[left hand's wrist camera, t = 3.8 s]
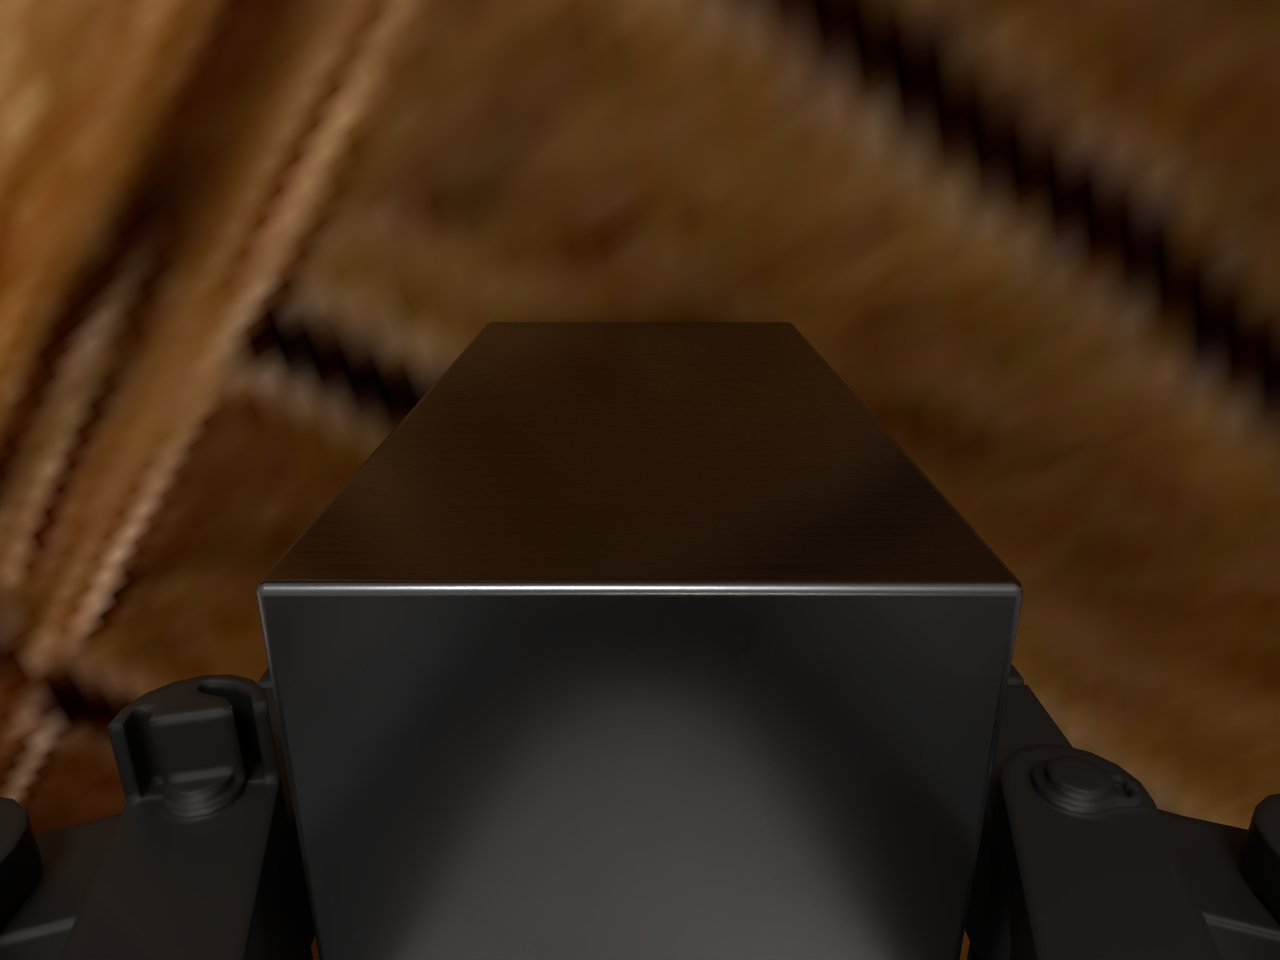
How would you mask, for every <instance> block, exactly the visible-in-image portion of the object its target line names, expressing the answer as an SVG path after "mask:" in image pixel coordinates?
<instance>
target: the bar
mask: <svg viewBox="0 0 1280 960" xmlns="http://www.w3.org/2000/svg"><path fill="white" fill-rule="evenodd" d="M256 597H257V603H258V609H259V614H260V620H261V626H262V631H263V637H264V643H265V649H266V654H267V660H268V666H269V672H270V677H271V683H272V689H273V694H274V700H275V706H276V712H277V717H278V723H279V729H280V734H281V740H282V746H283V752H284V757H285V763H286V769H287V775H288V780H289V786H290V792H291V797H292V803H293V809H294V815H295V820H296V826H297V832H298V838H299V843H300V849H301V855H302V860H303V866H304V872H305V878H306V883H307V889H308V895H309V900H310V906H311V912H312V918H313V923H314V929H315V935H316V941H317V946H318V952H319V958H320V960H959V959H960V953H961V947H962V941H963V936H964V930H965V924H966V918H967V913H968V907H969V901H970V896H971V890H972V884H973V878H974V873H975V867H976V861H977V855H978V850H979V844H980V838H981V832H982V827H983V821H984V815H985V809H986V804H987V798H988V792H989V786H990V781H991V775H992V769H993V764H994V758H995V752H996V746H997V741H998V735H999V729H1000V723H1001V718H1002V712H1003V706H1004V700H1005V695H1006V689H1007V683H1008V677H1009V672H1010V666H1011V660H1012V654H1013V649H1014V643H1015V637H1016V632H1017V626H1018V620H1019V614H1020V609H1021V603H1022V597H1023V590H1022V586H1021V583H1020V581H1019V580H1018V579H1017V578H1016V577H1015V576H1014V575H1013V574H1012V572H1011V571H1010V570H1009V569H1008V568H1007V567H1006V566H1005V564H1004V563H1003V562H1002V561H1001V560H1000V559H999V558H998V557H997V555H996V554H995V553H994V552H993V551H992V550H991V549H990V547H989V546H988V545H987V544H986V543H985V542H984V541H983V539H982V538H981V537H980V536H979V535H978V534H977V533H976V532H975V530H974V529H973V528H972V527H971V526H970V525H969V524H968V522H967V521H966V520H965V519H964V518H963V517H962V516H961V515H960V513H959V512H958V511H957V510H956V509H955V508H954V507H953V505H952V504H951V503H950V502H949V501H948V500H947V499H946V498H945V496H944V495H943V494H942V493H941V492H940V491H939V490H938V488H937V487H936V486H935V485H934V484H933V483H932V482H931V481H930V479H929V478H928V477H927V476H926V475H925V474H924V473H923V471H922V470H921V469H920V468H919V467H918V466H917V465H916V463H915V462H914V461H913V460H912V459H911V458H910V457H909V456H908V454H907V453H906V452H905V451H904V450H903V449H902V448H901V446H900V445H899V444H898V443H897V442H896V441H895V440H894V439H893V437H892V436H891V435H890V434H889V433H888V432H887V431H886V429H885V428H884V427H883V426H882V425H881V424H880V423H879V422H878V420H877V419H876V418H875V417H874V416H873V415H872V414H871V412H870V411H869V410H868V409H867V408H866V407H865V406H864V404H863V403H862V402H861V401H860V400H859V399H858V398H857V397H856V395H855V394H854V393H853V392H852V391H851V390H850V389H849V387H848V386H847V385H846V384H845V383H844V382H843V381H842V380H841V378H840V377H839V376H838V375H837V374H836V373H835V372H834V370H833V369H832V368H831V367H830V366H829V365H828V364H827V363H826V361H825V360H824V359H823V358H822V357H821V356H820V355H819V353H818V352H817V351H816V350H815V349H814V348H813V347H812V346H811V344H810V343H809V342H808V341H807V340H806V339H805V338H804V336H803V335H802V334H801V333H800V332H799V331H798V330H797V328H796V327H795V326H794V325H793V324H791V323H789V322H491V323H489V324H487V326H486V327H485V328H484V329H483V330H482V331H481V332H480V333H479V335H478V336H477V337H476V338H475V339H474V340H473V341H472V342H471V344H470V345H469V346H468V347H467V348H466V349H465V350H464V351H463V353H462V354H461V355H460V356H459V357H458V358H457V359H456V360H455V362H454V363H453V364H452V365H451V366H450V367H449V368H448V369H447V371H446V372H445V373H444V374H443V375H442V376H441V377H440V378H439V380H438V381H437V382H436V383H435V384H434V385H433V386H432V387H431V389H430V390H429V391H428V392H427V393H426V394H425V395H424V396H423V398H422V399H421V400H420V401H419V402H418V403H417V404H416V405H415V407H414V408H413V409H412V410H411V411H410V412H409V413H408V414H407V416H406V417H405V418H404V419H403V420H402V421H401V422H400V424H399V425H398V426H397V427H396V428H395V429H394V430H393V431H392V433H391V434H390V435H389V436H388V437H387V438H386V439H385V440H384V442H383V443H382V444H381V445H380V446H379V447H378V448H377V449H376V451H375V452H374V453H373V454H372V455H371V456H370V457H369V458H368V460H367V461H366V462H365V463H364V464H363V465H362V466H361V467H360V469H359V470H358V471H357V472H356V473H355V474H354V475H353V476H352V478H351V479H350V480H349V481H348V482H347V483H346V484H345V485H344V487H343V488H342V489H341V490H340V491H339V492H338V493H337V494H336V496H335V497H334V498H333V499H332V500H331V501H330V502H329V503H328V505H327V506H326V507H325V508H324V509H323V510H322V511H321V512H320V514H319V515H318V516H317V517H316V518H315V519H314V520H313V521H312V523H311V524H310V525H309V526H308V527H307V528H306V529H305V530H304V532H303V533H302V534H301V535H300V536H299V537H298V538H297V539H296V541H295V542H294V543H293V544H292V545H291V546H290V547H289V548H288V550H287V551H286V552H285V553H284V554H283V555H282V556H281V558H280V559H279V560H278V561H277V562H276V563H275V564H274V565H273V567H272V568H271V569H270V570H269V571H268V572H267V573H266V574H265V576H264V577H263V578H262V579H261V580H260V581H259V582H258V586H257V589H256Z"/></svg>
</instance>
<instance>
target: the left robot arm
mask: <svg viewBox="0 0 1280 960" xmlns="http://www.w3.org/2000/svg"><path fill="white" fill-rule="evenodd" d="M107 728H108V732H109V736H110V740H111V743H112V747H113V751H114V755H115V759H116V763H117V767H118V771H119V774H120V778H121V782H122V786H123V790H124V794H125V798H126V804H125V807H124V809H123V811H122V813H120V814H117V815H113V816H110V817H106V818H103V819H98V820H94V821H89V822H85V823H80V824H75V825H71V826H66V827H61V828H57V829H52V830H47V831H43V832H38V833H33V830H32V827H31V824H30V820H29V817H28V814H27V811H26V809H24V808H23V807H22V806H21V805H20V804H18V803H17V802H16V801H15V800H14V799H9V798H2V797H0V960H313V956H312V950H311V944H312V942H313V939H314V937H315V929H314V923H313V918H312V912H311V906H310V900H309V895H308V889H307V883H306V878H305V872H304V866H303V860H302V855H301V849H300V843H299V838H298V832H297V826H296V820H295V815H294V809H293V803H292V797H291V792H290V786H289V780H288V775H287V769H286V763H285V757H284V752H283V746H282V740H281V734H280V729H279V723H278V717H277V712H276V706H275V700H274V694H273V689H272V683H271V677H270V672H269V668H268V669H267V670H266V672H265V673H264V675H263V676H262V677H261V679H260V680H259V682H258V684H257V683H256V682H254V681H253V680H251V679H247V678H243V677H238V676H234V675H204V676H199V677H195V678H190V679H186V680H181V681H176V682H173V683H170V684H168V685H166V686H163V687H161V688H158V689H156V690H153V691H151V692H148V693H146V694H144V695H143V696H141V697H140V698H138V699H137V700H135V701H133V702H132V703H130V704H129V705H127V706H126V707H124V708H123V709H122V710H121V711H120V712H119V713H118V714H117V715H116V717H115V718H114V719H113V720H112V721H111V723H110V724H109V725H108V726H107ZM965 931H966V933H967V936H968V938H969V940H970V945H969V950H968V956H967V960H1280V794H1275V795H1269V796H1268V797H1266V798H1265V799H1264V800H1263V801H1262V802H1260V803H1259V804H1258V805H1257V806H1256V807H1255V810H1254V813H1253V817H1252V820H1251V823H1250V826H1249V830H1246V829H1242V828H1237V827H1232V826H1228V825H1223V824H1218V823H1214V822H1209V821H1204V820H1200V819H1195V818H1190V817H1186V816H1181V815H1177V814H1174V813H1170V812H1167V811H1163V810H1160V809H1157V807H1156V805H1155V803H1154V801H1153V799H1152V798H1151V796H1150V795H1149V794H1148V792H1147V791H1146V790H1145V788H1144V787H1143V785H1142V784H1141V783H1140V782H1139V781H1138V780H1137V779H1136V778H1134V777H1133V776H1132V775H1130V774H1129V773H1128V772H1126V771H1125V770H1124V769H1122V768H1121V767H1120V766H1118V765H1117V764H1115V763H1112V762H1110V761H1108V760H1106V759H1104V758H1102V757H1099V756H1097V755H1095V754H1093V753H1091V752H1087V751H1083V750H1079V749H1075V748H1073V747H1072V746H1071V744H1070V743H1069V742H1068V740H1067V739H1066V738H1065V736H1064V735H1063V733H1062V732H1061V731H1060V729H1059V728H1058V726H1057V725H1056V724H1055V722H1054V721H1053V720H1052V718H1051V717H1050V715H1049V714H1048V713H1047V711H1046V710H1045V709H1044V707H1043V706H1042V704H1041V703H1040V702H1039V700H1038V699H1037V698H1036V696H1035V695H1034V693H1033V692H1032V691H1031V689H1030V688H1029V686H1028V685H1024V680H1023V678H1022V677H1021V675H1020V674H1019V673H1018V671H1017V670H1016V669H1015V667H1014V666H1013V665H1011V666H1010V672H1009V677H1008V683H1007V689H1006V695H1005V700H1004V706H1003V712H1002V718H1001V723H1000V729H999V735H998V741H997V746H996V752H995V758H994V764H993V769H992V775H991V781H990V786H989V792H988V798H987V804H986V809H985V815H984V821H983V827H982V832H981V838H980V844H979V850H978V855H977V861H976V867H975V873H974V878H973V884H972V890H971V896H970V901H969V907H968V913H967V918H966V924H965Z"/></svg>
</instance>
